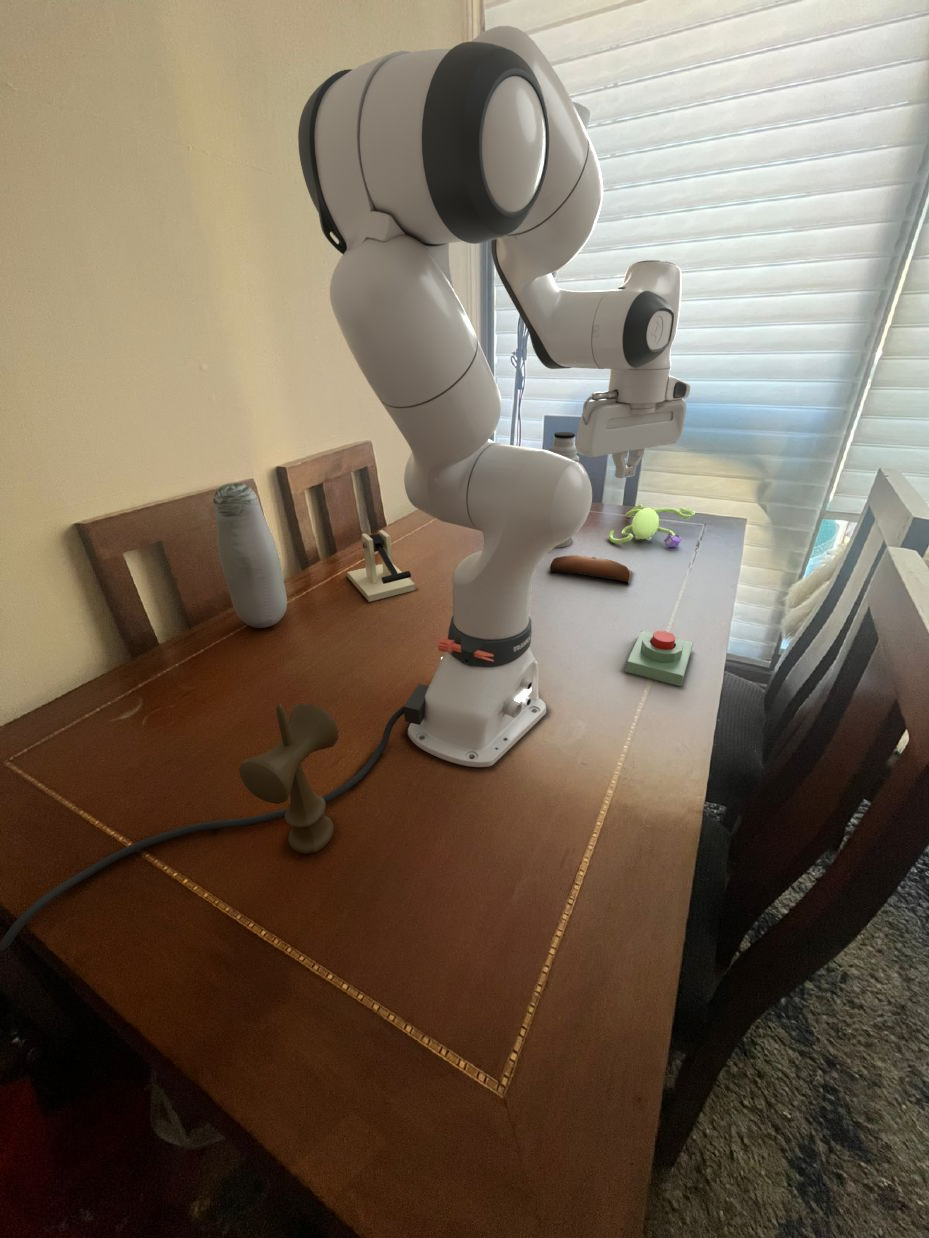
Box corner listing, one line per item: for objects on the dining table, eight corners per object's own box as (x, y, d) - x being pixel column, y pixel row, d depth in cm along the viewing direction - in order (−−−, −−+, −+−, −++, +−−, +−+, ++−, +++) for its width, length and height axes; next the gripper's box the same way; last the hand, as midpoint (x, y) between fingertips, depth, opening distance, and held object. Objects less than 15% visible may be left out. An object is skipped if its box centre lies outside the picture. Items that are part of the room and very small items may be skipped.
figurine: (694, 524, 148) (698, 505, 146) (676, 556, 129) (681, 535, 126) (630, 514, 157) (632, 496, 154) (604, 543, 137) (606, 523, 134)
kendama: (356, 812, 63) (332, 682, 53) (309, 881, 56) (271, 745, 45) (314, 798, 65) (284, 670, 55) (264, 864, 57) (218, 729, 47)
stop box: (680, 686, 84) (685, 666, 82) (625, 671, 87) (628, 652, 85) (690, 653, 92) (695, 634, 90) (639, 640, 96) (642, 622, 94)
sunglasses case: (632, 569, 121) (634, 551, 116) (627, 593, 118) (629, 577, 113) (557, 558, 127) (555, 541, 122) (550, 582, 124) (548, 565, 119)
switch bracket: (415, 589, 115) (412, 540, 109) (369, 602, 110) (362, 550, 104) (391, 567, 125) (387, 521, 120) (348, 577, 121) (341, 530, 115)
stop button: (671, 652, 86) (673, 644, 85) (649, 647, 87) (651, 638, 86) (675, 642, 88) (677, 633, 88) (653, 637, 90) (655, 628, 89)
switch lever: (410, 580, 109) (411, 572, 107) (383, 586, 107) (384, 578, 105) (386, 540, 116) (387, 531, 114) (361, 545, 113) (361, 537, 111)
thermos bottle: (551, 549, 134) (560, 437, 120) (535, 539, 140) (541, 431, 126) (577, 544, 137) (588, 434, 122) (560, 534, 143) (568, 428, 129)
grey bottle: (236, 618, 105) (197, 481, 91) (287, 606, 109) (258, 474, 95) (242, 641, 97) (201, 496, 83) (296, 627, 101) (267, 487, 87)
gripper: (599, 395, 74) (589, 490, 81) (698, 385, 82) (681, 472, 89) (571, 391, 79) (564, 481, 86) (667, 381, 87) (653, 464, 94)
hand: (624, 476), depth 87 cm, fingers closed
